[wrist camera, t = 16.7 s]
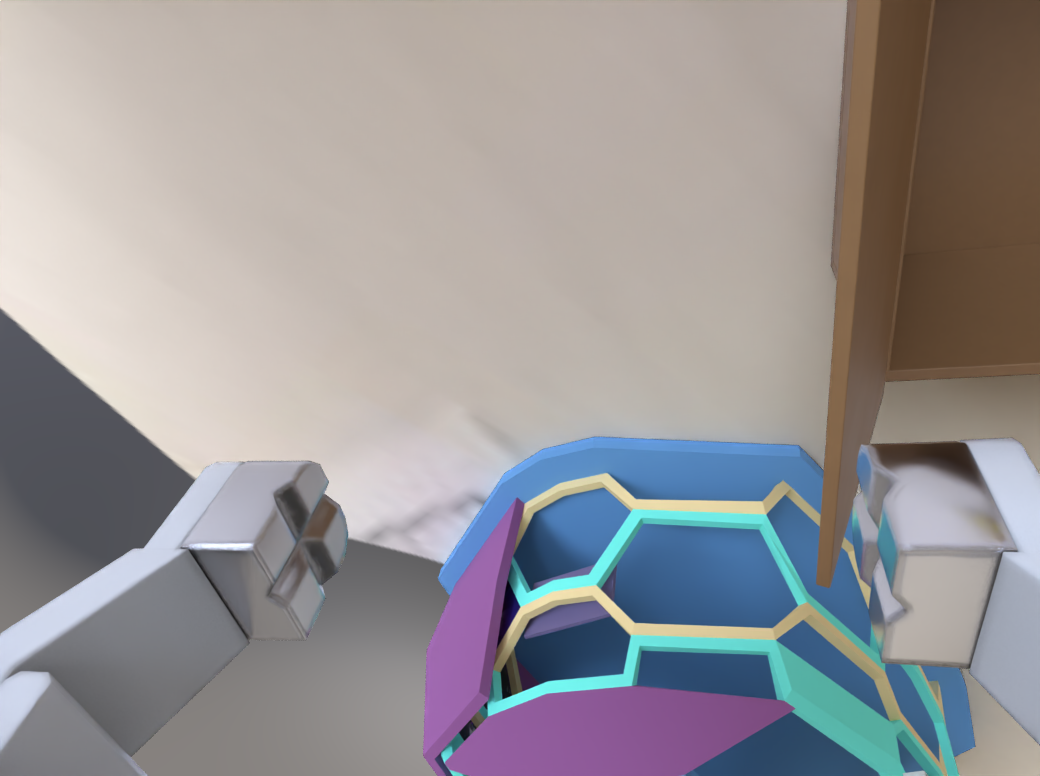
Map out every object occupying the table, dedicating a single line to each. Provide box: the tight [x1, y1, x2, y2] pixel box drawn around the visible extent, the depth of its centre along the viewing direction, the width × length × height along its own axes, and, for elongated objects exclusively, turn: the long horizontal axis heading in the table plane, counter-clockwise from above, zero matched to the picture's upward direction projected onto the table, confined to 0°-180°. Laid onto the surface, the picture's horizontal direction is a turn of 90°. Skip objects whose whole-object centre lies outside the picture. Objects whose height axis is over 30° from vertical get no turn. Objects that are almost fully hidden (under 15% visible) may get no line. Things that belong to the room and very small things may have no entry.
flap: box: [816, 0, 932, 588], centre depth 14 cm, size 7×15×1 cm
